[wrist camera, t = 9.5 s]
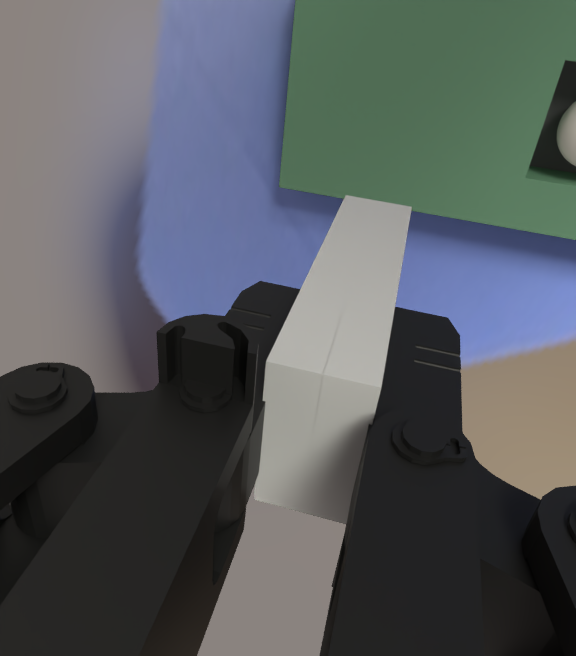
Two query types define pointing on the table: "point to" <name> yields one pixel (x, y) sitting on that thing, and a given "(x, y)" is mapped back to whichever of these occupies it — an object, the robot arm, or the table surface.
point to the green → (435, 107)
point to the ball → (568, 134)
